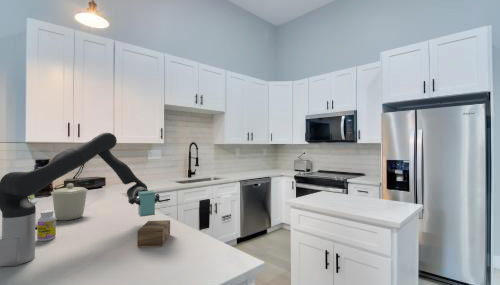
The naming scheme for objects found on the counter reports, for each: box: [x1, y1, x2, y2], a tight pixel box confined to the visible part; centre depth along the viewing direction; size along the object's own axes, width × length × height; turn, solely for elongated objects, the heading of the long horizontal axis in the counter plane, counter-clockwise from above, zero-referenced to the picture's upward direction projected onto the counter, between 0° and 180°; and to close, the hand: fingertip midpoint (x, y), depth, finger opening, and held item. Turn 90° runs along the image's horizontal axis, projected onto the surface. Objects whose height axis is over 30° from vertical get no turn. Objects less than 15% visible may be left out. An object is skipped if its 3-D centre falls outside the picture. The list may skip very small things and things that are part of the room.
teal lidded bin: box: [137, 190, 156, 218], centre depth 113 cm, size 6×6×10 cm
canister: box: [50, 182, 89, 221], centre depth 149 cm, size 18×18×21 cm
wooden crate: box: [136, 220, 171, 248], centre depth 112 cm, size 14×10×7 cm
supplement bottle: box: [36, 209, 57, 242], centre depth 115 cm, size 7×7×13 cm
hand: (147, 201), depth 111 cm, fingers closed on teal lidded bin, 6 cm apart
